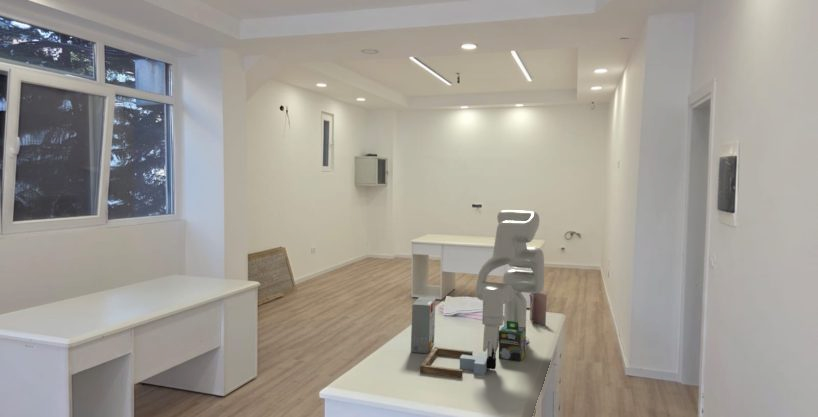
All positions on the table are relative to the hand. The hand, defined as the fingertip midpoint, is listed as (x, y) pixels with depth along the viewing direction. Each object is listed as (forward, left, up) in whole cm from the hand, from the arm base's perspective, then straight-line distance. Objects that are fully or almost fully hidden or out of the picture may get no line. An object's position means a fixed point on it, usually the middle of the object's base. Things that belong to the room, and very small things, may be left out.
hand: (491, 368), depth 198 cm
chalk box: (-18, +6, -1) cm, 19 cm away
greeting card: (-74, +13, -1) cm, 75 cm away
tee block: (0, -7, -1) cm, 7 cm away
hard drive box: (-17, -31, -1) cm, 35 cm away
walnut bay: (0, -16, -1) cm, 16 cm away
